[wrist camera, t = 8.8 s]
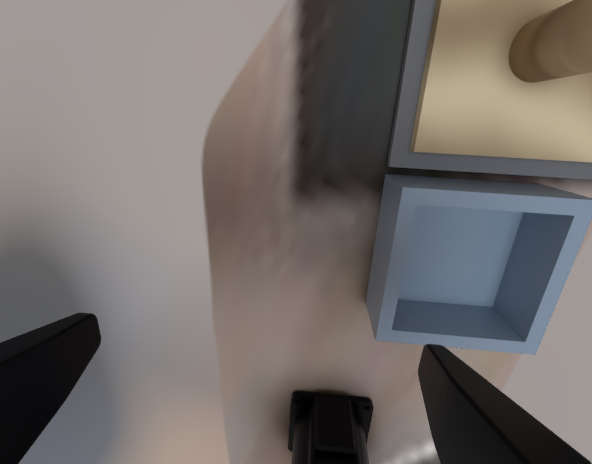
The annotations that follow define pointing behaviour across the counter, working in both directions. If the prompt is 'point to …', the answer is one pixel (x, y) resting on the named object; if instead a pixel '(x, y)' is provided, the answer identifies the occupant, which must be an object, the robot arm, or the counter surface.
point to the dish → (471, 261)
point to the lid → (508, 80)
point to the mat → (452, 162)
